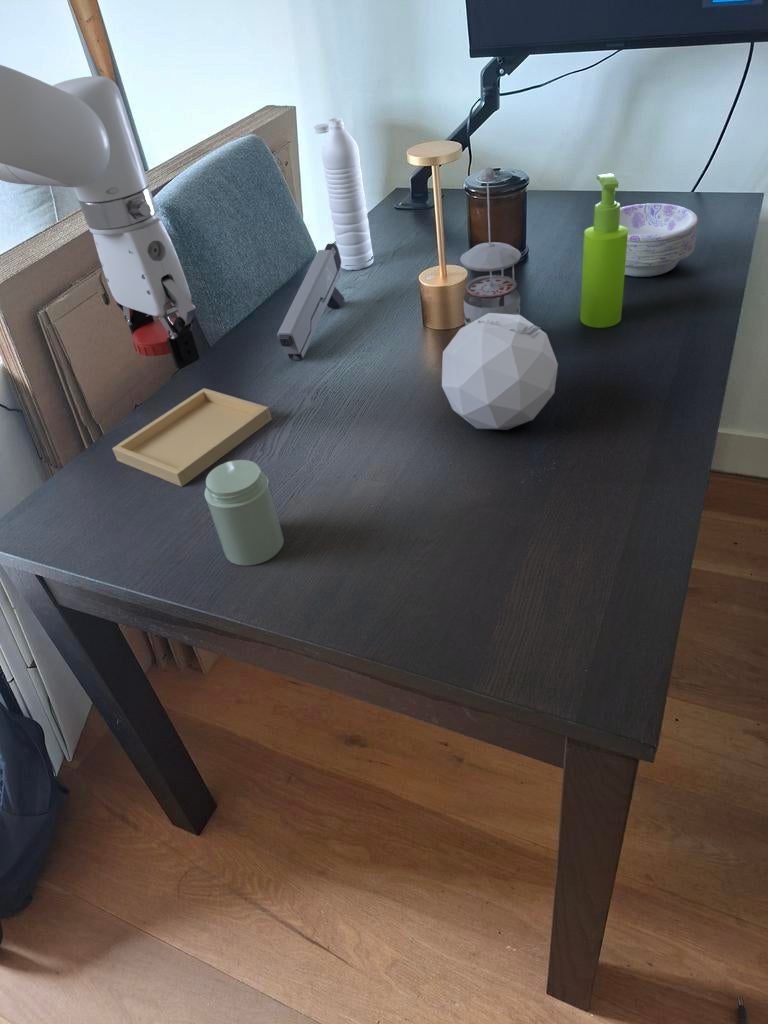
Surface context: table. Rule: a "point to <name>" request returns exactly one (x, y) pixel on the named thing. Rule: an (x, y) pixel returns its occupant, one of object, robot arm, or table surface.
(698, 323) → the table surface
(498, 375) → the geodesic sphere
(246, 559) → the jam jar
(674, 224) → the paper bowls
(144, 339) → the jar lid
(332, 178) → the water bottle
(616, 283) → the soap dispenser
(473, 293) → the french press
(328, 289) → the gun
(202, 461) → the tray
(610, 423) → the table surface
